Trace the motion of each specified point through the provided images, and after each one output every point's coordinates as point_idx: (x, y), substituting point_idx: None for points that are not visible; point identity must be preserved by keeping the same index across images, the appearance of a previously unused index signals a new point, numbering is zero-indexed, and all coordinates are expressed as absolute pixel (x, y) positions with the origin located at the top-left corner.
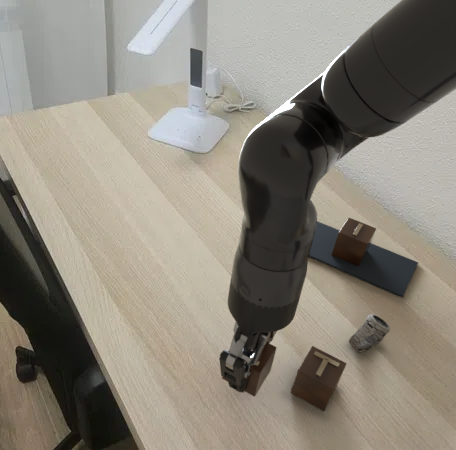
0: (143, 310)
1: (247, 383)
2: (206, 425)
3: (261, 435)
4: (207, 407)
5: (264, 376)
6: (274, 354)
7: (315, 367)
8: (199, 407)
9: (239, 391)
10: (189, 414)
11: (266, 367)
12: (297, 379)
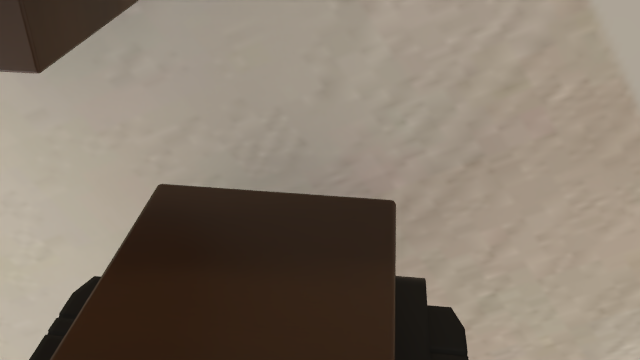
0: None
1: None
2: (591, 267)
3: (528, 21)
4: (495, 294)
5: (259, 243)
6: (84, 327)
7: None
8: (512, 318)
9: (456, 318)
10: (566, 337)
11: (239, 334)
12: (90, 16)
